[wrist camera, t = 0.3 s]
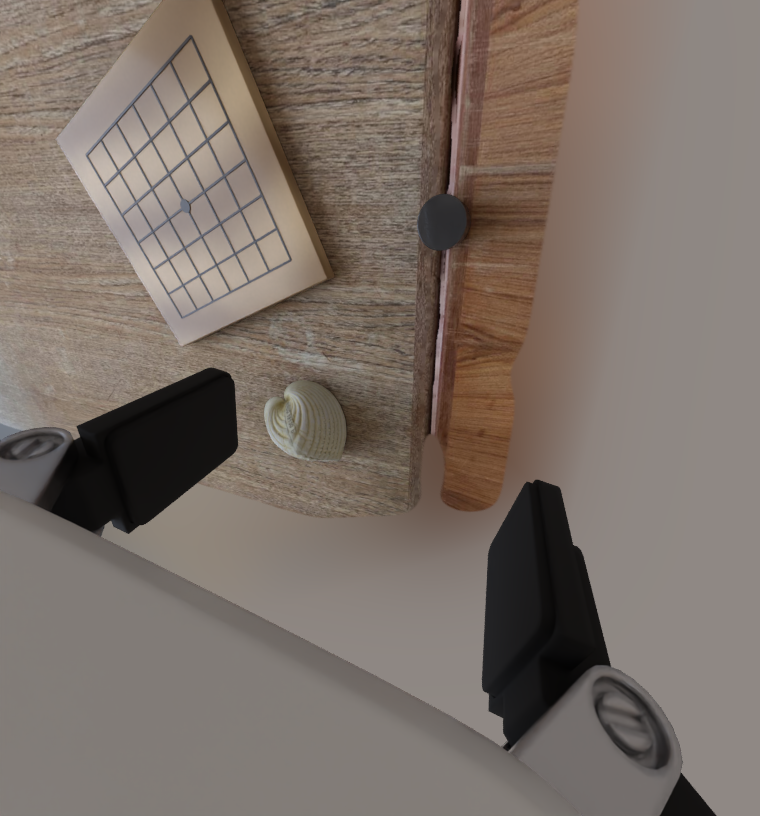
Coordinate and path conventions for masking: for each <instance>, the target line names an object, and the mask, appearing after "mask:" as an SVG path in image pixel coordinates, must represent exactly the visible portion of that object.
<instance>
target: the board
mask: <svg viewBox="0 0 760 816" xmlns="http://www.w3.org/2000/svg"><path fill="white" fill-rule="evenodd" d="M56 141H57V143H58V144H59V146H60V148H61V149H62V151H63V153H64V154H65V156H66V158H67V159H68V161H69V162H70V164H71V166H72V167H73V169H74V171H75V172H76V174H77V176H78V177H79V179H80V181H81V182H82V184H83V186H84V187H85V189H86V190H87V192H88V194H89V195H90V197H91V199H92V200H93V202H94V204H95V205H96V207H97V209H98V210H99V212H100V214H101V215H102V217H103V218H104V220H105V222H106V223H107V225H108V227H109V228H110V230H111V232H112V233H113V235H114V237H115V238H116V240H117V242H118V243H119V245H120V246H121V248H122V250H123V251H124V253H125V255H126V256H127V258H128V260H129V261H130V263H131V265H132V266H133V268H134V270H135V271H136V273H137V274H138V276H139V278H140V279H141V281H142V283H143V284H144V286H145V288H146V289H147V291H148V293H149V294H150V296H151V298H152V299H153V301H154V302H155V304H156V306H157V307H158V309H159V311H160V312H161V314H162V316H163V317H164V319H165V321H166V322H167V324H168V326H169V327H170V329H171V330H172V332H173V334H174V335H175V337H176V339H177V340H178V342H179V344H180V345H181V347H183V346H186V345H189V344H192V343H194V342H196V341H198V340H200V339H203V338H205V337H207V336H209V335H211V334H213V333H216V332H218V331H220V330H222V329H224V328H226V327H228V326H231V325H233V324H235V323H237V322H239V321H241V320H243V319H246V318H248V317H250V316H252V315H254V314H256V313H259V312H261V311H263V310H265V309H267V308H269V307H271V306H274V305H276V304H278V303H280V302H282V301H284V300H287V299H289V298H291V297H293V296H295V295H297V294H299V293H302V292H304V291H306V290H308V289H310V288H312V287H314V286H317V285H319V284H321V283H323V282H325V281H327V280H330V279H332V278H334V277H335V275H334V273H333V271H332V268H331V266H330V263H329V261H328V258H327V256H326V253H325V251H324V249H323V246H322V244H321V241H320V239H319V236H318V234H317V231H316V229H315V227H314V224H313V222H312V219H311V217H310V214H309V212H308V209H307V207H306V205H305V202H304V200H303V197H302V195H301V192H300V190H299V187H298V185H297V183H296V180H295V178H294V175H293V173H292V170H291V168H290V165H289V163H288V161H287V158H286V156H285V153H284V151H283V148H282V146H281V143H280V141H279V139H278V136H277V134H276V131H275V129H274V126H273V124H272V121H271V119H270V117H269V114H268V112H267V109H266V107H265V104H264V102H263V99H262V97H261V95H260V92H259V90H258V87H257V85H256V82H255V80H254V77H253V75H252V73H251V70H250V68H249V65H248V63H247V60H246V58H245V55H244V53H243V51H242V48H241V46H240V43H239V41H238V38H237V36H236V33H235V31H234V29H233V26H232V24H231V21H230V19H229V16H228V14H227V11H226V9H225V7H224V4H223V2H222V0H162V2H161V3H160V4H159V6H158V7H157V8H156V9H155V11H154V12H153V13H152V15H151V16H150V17H149V18H148V20H147V21H146V22H145V24H144V25H143V26H142V28H141V29H140V30H139V31H138V33H137V34H136V35H135V37H134V38H133V39H132V41H131V42H130V43H129V44H128V46H127V47H126V48H125V50H124V51H123V52H122V54H121V55H120V56H119V57H118V59H117V60H116V61H115V63H114V64H113V65H112V67H111V68H110V69H109V70H108V72H107V73H106V74H105V76H104V77H103V78H102V80H101V81H100V82H99V83H98V85H97V86H96V87H95V89H94V90H93V91H92V93H91V94H90V95H89V96H88V98H87V99H86V100H85V102H84V103H83V104H82V106H81V107H80V108H79V109H78V111H77V112H76V113H75V115H74V116H73V117H72V119H71V120H70V121H69V122H68V124H67V125H66V126H65V128H64V129H63V130H62V132H61V133H60V134H59V135H58V137H57V138H56Z"/></svg>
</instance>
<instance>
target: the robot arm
mask: <svg viewBox="0 0 760 816" xmlns="http://www.w3.org/2000/svg"><path fill="white" fill-rule="evenodd" d="M77 429H78V432H79V434H80V438H78V439H76V440H73V437H72V435H71V433H70V432H69V431H67V430H65V429H61V428H56V427H43V428H34V429H29V430H25V431H21V432H18V433H15V434H13V435H10V436H7V437H5V438H3V439H2V440H0V816H716V815H715V814H714V812H713V811H712V810H711V809H710V807H709V806H708V805H707V804H706V802H705V801H704V800H703V799H702V798H701V796H700V795H699V794H698V793H697V791H696V790H695V789H694V788H693V787H692V786H691V784H690V783H689V782H688V781H687V779H686V778H685V777H684V776H683V774H682V773H681V768H682V763H683V761H682V756H681V749H680V744H679V742H678V739H677V737H676V734H675V732H674V729H673V727H672V725H671V723H670V722H669V721H668V718H667V717H666V715H665V714H664V712H663V710H662V709H661V707H660V706H659V705H658V704H657V703H656V701H655V700H654V699H653V698H652V697H651V695H650V694H649V693H648V692H647V691H646V690H645V689H644V688H643V687H642V686H640V685H639V684H638V683H637V682H636V681H635V680H634V679H633V678H631V677H630V676H628V675H626V674H625V673H623V672H622V671H620V670H618V669H615V668H612V667H611V665H610V661H609V657H608V653H607V649H606V645H605V641H604V637H603V633H602V629H601V625H600V621H599V617H598V613H597V609H596V605H595V601H594V597H593V593H592V589H591V585H590V581H589V578H588V573H587V569H586V565H585V561H584V557H583V554H582V552H581V550H580V549H579V548H578V547H577V546H574V545H573V542H572V538H571V533H570V529H569V524H568V520H567V516H566V511H565V507H564V503H563V498H562V494H561V490H560V488H559V487H558V486H555V485H552V484H549V483H546V482H543V481H540V480H535V481H534V482H533V483H530V482H526V483H525V485H524V486H523V488H522V490H521V492H520V493H519V495H518V497H517V499H516V501H515V502H514V504H513V506H512V508H511V510H510V511H509V513H508V515H507V517H506V518H505V520H504V522H503V524H502V526H501V527H500V529H499V531H498V533H497V535H496V536H495V538H494V540H493V542H492V544H491V546H490V549H489V553H488V568H487V569H488V570H487V588H486V589H487V591H486V609H485V610H486V611H485V630H484V631H485V632H484V650H483V671H482V688H483V691H484V692H487V693H489V711H490V712H492V713H494V714H496V715H498V716H500V717H502V718H503V733H504V735H505V737H506V738H507V741H506V742H505V743H504V744H503V745H502V746H499V745H498V744H496V743H495V742H493V741H492V740H490V739H488V738H487V737H485V736H483V735H482V734H480V733H478V732H476V731H475V730H473V729H472V728H470V727H468V726H467V725H465V724H463V723H462V722H460V721H458V720H457V719H455V718H453V717H452V716H450V715H448V714H446V713H444V712H442V711H440V710H439V709H437V708H435V707H433V706H431V705H429V704H427V703H425V702H424V701H422V700H420V699H418V698H416V697H414V696H412V695H410V694H408V693H407V692H405V691H403V690H401V689H399V688H397V687H395V686H394V685H392V684H390V683H388V682H386V681H384V680H382V679H380V678H378V677H377V676H375V675H373V674H371V673H369V672H367V671H365V670H363V669H361V668H359V667H357V666H355V665H354V664H352V663H350V662H348V661H346V660H344V659H342V658H340V657H338V656H336V655H334V654H332V653H330V652H328V651H326V650H324V649H322V648H320V647H318V646H316V645H314V644H312V643H310V642H309V641H307V640H305V639H303V638H301V637H299V636H297V635H295V634H293V633H291V632H289V631H287V630H285V629H283V628H281V627H279V626H277V625H275V624H273V623H271V622H269V621H267V620H265V619H263V618H262V617H260V616H257V615H256V614H254V613H252V612H250V611H248V610H246V609H244V608H242V607H240V606H238V605H236V604H233V603H232V602H230V601H228V600H226V599H224V598H222V597H220V596H218V595H216V594H214V593H212V592H210V591H208V590H206V589H204V588H202V587H200V586H198V585H196V584H194V583H192V582H190V581H188V580H186V579H184V578H182V577H180V576H178V575H176V574H174V573H172V572H170V571H168V570H166V569H164V568H162V567H160V566H158V565H156V564H154V563H152V562H150V561H148V560H146V559H144V558H142V557H140V556H138V555H136V554H134V553H132V552H130V551H128V550H126V549H124V548H122V547H120V546H118V545H116V544H114V543H112V542H110V541H108V540H106V539H104V538H102V537H101V535H102V532H103V529H104V525H105V524H107V523H108V522H109V521H112V524H113V526H114V527H116V528H117V529H120V530H122V531H124V532H126V533H128V534H129V533H130V532H132V531H133V530H134V529H135V528H137V527H138V526H139V525H144V524H146V523H147V522H149V521H150V520H152V519H153V518H154V517H155V516H156V515H158V514H159V513H160V512H161V511H163V510H164V509H165V508H166V507H168V506H169V505H170V504H171V503H172V502H174V501H175V500H176V499H178V498H179V497H180V496H181V495H183V494H184V493H185V492H186V491H188V490H189V489H190V488H191V487H193V486H194V485H195V484H196V483H198V482H199V481H200V480H201V479H203V478H204V477H205V476H206V475H208V474H209V473H210V472H211V471H213V470H214V469H215V468H216V467H218V466H219V465H220V464H221V463H223V462H224V461H225V460H226V459H228V458H229V457H230V456H231V455H233V454H234V453H235V451H236V449H237V447H238V435H237V418H236V401H235V384H234V381H233V379H232V378H231V375H230V374H229V373H227V372H224V371H221V370H219V369H216V368H207V369H205V370H203V371H201V372H198V373H196V374H194V375H192V376H189V377H187V378H185V379H182V380H180V381H178V382H176V383H173V384H171V385H169V386H167V387H164V388H162V389H160V390H158V391H155V392H153V393H151V394H149V395H146V396H144V397H142V398H139V399H137V400H135V401H133V402H130V403H128V404H126V405H124V406H121V407H119V408H117V409H115V410H112V411H110V412H108V413H106V414H103V415H101V416H99V417H96V418H94V419H92V420H90V421H87V422H85V423H83V424H81V425H78V426H77Z"/></svg>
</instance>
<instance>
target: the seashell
mask: <svg viewBox="0 0 760 816" xmlns="http://www.w3.org/2000/svg"><path fill="white" fill-rule="evenodd" d="M264 418H265V423H266V426H267V430H268V432H269V434H270V436H271V439H272V441H273V442H274V443H275V445H277V446H278V448H281V449H282V451H284V452H285V453H288V454H289V455H291V456H293V457H296V458H298V459H302V460H307V461H310V460H311V461H312V462H313V461H339V460H341V457H342V453H343V451H344V445H345V441H346V421H345V417H344V413H343V411H342V408H341V406H340V404H339V403H338V401H337V399H336V398H335V397H334V395H333V394H332V393H331V392H330V391H328V390H327V389H326V388H325V387H323V386H321V385H319V384H318V383H315V382H311V381H303V380H301V381H296V382H293V383H292V384H290V385H289V386H288V387H287V388H286V390H285V392H284V399H282V398H280V397H272V398H271V399H269V400H268V402H267V403H266V405H265V408H264Z"/></svg>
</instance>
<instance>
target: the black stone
mask: <svg viewBox="0 0 760 816" xmlns="http://www.w3.org/2000/svg"><path fill="white" fill-rule="evenodd" d="M470 226H471V216H470V212H469V210H468V208H467V207H466V205H465V204H464V203H463V202H461V201H460V200H459V199H458V198H456V197H455V196H453V195H450V194H439V195H436V196H434V197H432V198H431V199H429V200H428V201H427V202H426V203H425V204H424V206H423V207H422V209H421V211H420V213H419V216H418V221H417V229H418V234H419V237H420V239H421V240H422V242H423V243H424V244H425V245H426V246H427V247H429V248H430V249H433V250H437V251H442V250H447V249H450V248H454V247H456V246H458V245H459V244H460V243H462V242H463V240H464V239H465V238H466V236H467V235H468V232H469V230H470Z"/></svg>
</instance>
